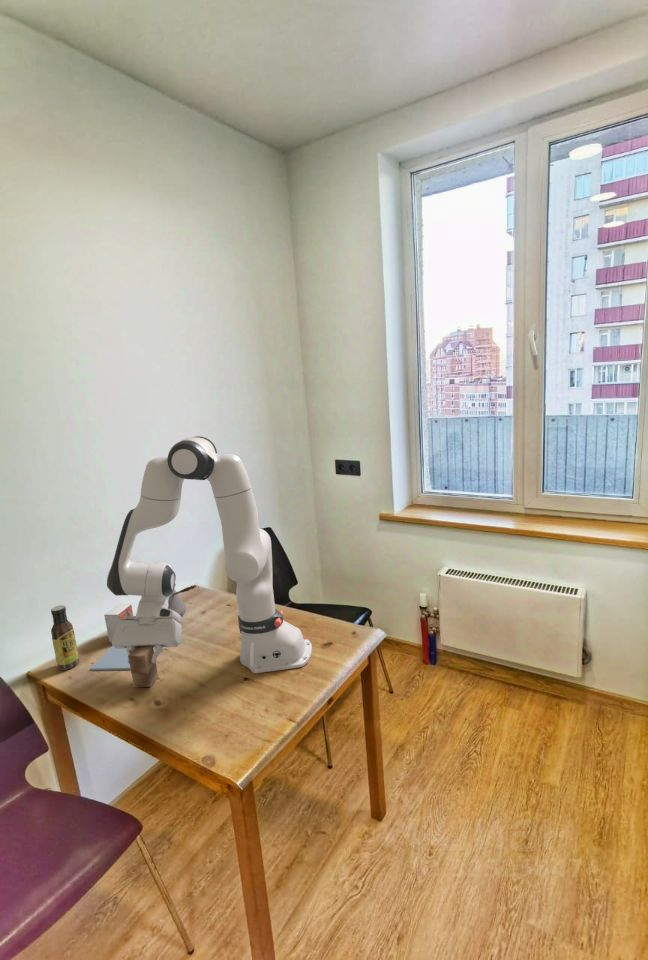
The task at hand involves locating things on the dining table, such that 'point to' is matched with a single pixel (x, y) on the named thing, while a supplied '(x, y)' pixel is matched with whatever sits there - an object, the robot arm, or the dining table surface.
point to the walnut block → (142, 666)
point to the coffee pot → (178, 601)
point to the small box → (116, 617)
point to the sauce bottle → (63, 639)
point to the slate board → (113, 660)
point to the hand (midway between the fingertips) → (141, 663)
